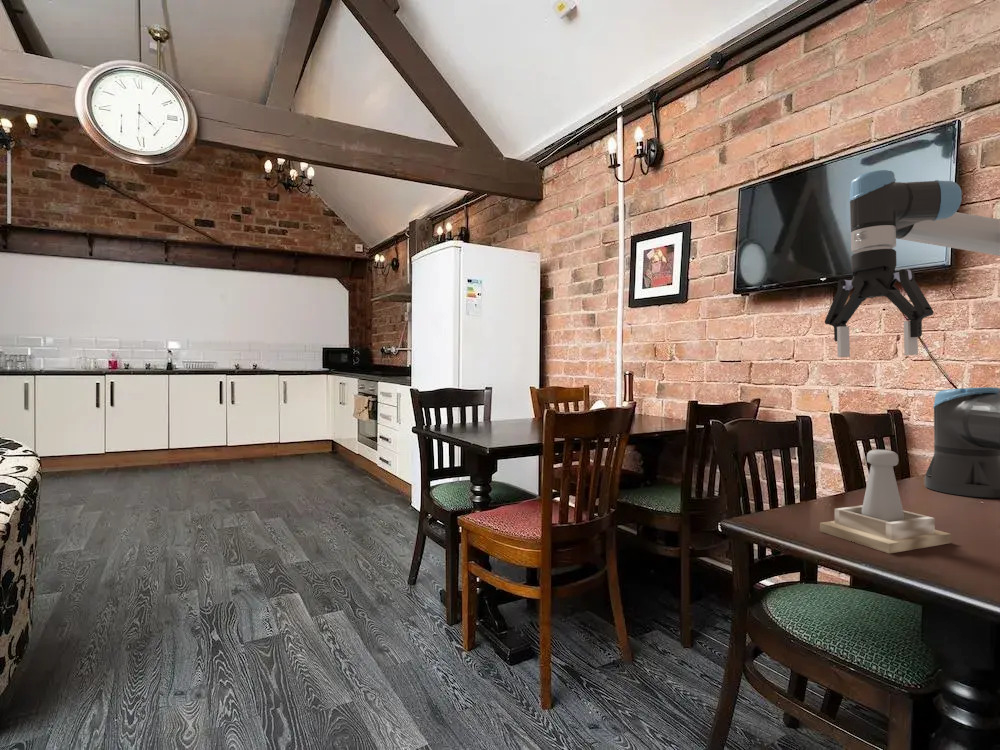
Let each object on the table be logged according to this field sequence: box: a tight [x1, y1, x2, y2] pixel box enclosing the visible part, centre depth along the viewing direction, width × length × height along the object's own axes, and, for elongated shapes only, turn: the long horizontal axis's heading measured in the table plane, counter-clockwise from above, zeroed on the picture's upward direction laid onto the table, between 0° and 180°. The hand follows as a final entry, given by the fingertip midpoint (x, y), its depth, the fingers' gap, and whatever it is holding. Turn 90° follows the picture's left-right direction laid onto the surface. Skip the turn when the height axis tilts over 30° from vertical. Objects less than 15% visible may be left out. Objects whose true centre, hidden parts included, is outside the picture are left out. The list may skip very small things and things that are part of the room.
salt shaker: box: [862, 449, 904, 522], centre depth 91 cm, size 6×6×13 cm
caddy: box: [819, 504, 952, 554], centre depth 91 cm, size 14×12×4 cm
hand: (875, 356), depth 111 cm, fingers open, 13 cm apart
